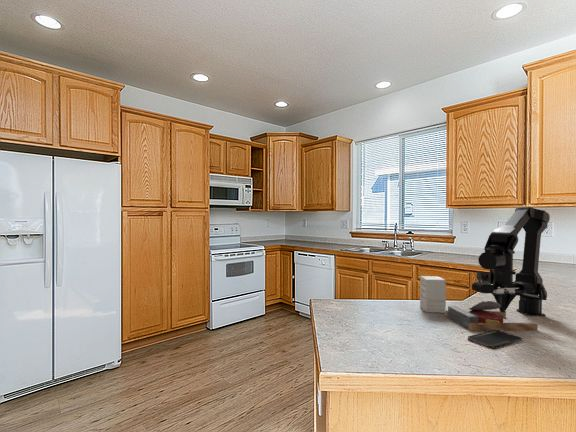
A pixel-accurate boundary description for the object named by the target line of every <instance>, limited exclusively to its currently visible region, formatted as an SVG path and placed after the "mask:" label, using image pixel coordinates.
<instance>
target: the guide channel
mask: <svg viewBox="0 0 576 432" xmlns="http://www.w3.org/2000/svg"><path fill="white" fill-rule="evenodd" d="M464 310H465V309H464ZM465 311H467V312H469V313H470V311H471V310H469V309H467V310H465ZM486 311H491V312H495V313H498V314H501V315H502V316H503V318H506V317H507V311H505V312H504V313H502V312H500V310H498V309H492V310H486ZM445 316H446V317H447V318H448V309H447V310H446V313H445ZM468 330H469V331H471V332H476V331H477V332H480V331H481V332H489V331H493V330H499V331H502V332H505V331H515V332H516V331H538V323H536V322H503V323H469V329H468Z"/></svg>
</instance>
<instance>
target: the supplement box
mask: <svg viewBox="0 0 576 432" xmlns="http://www.w3.org/2000/svg"><path fill="white" fill-rule="evenodd" d="M419 279H420V283H419V286H420V287H419V289H420V290H419V292H420V293H419V295H420V297H419V298H420V299H419V307H420V308H421V309H422V310H423V311H424V312H426V313H441V314H442V313H444V314H446V308H447V307H446V305H447V303H446V301H447V297H446V296H447V295H446V294H447V293H446V292H447V287H446V286H447V284H446V283H447V280H446V279H444V278H443V277H440V276H437V275H436V276H435V275H434V276H432V275H430V276H429V275H420V278H419Z"/></svg>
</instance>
